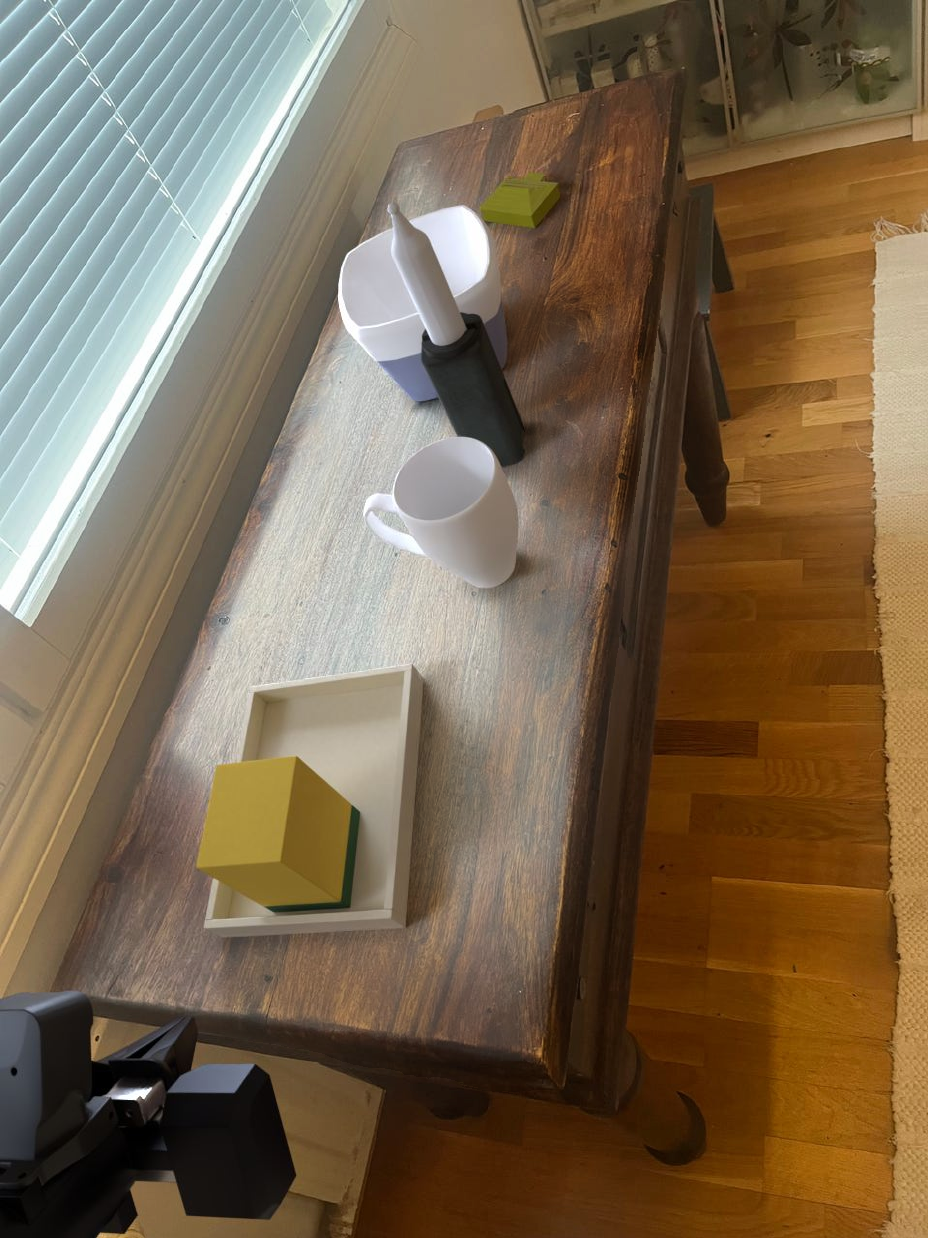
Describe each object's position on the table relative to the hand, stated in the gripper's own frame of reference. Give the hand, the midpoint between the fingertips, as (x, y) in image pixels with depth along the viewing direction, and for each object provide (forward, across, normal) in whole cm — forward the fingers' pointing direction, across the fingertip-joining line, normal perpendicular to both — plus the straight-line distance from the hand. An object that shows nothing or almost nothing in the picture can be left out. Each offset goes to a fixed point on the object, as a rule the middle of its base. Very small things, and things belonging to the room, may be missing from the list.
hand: (190, 1024), depth 50 cm
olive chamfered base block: (+70, -15, -52) cm, 88 cm away
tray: (+21, 0, -4) cm, 21 cm away
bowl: (+54, -8, -36) cm, 66 cm away
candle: (+44, -13, -27) cm, 53 cm away
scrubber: (+18, 0, -1) cm, 18 cm away
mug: (+35, -10, -18) cm, 41 cm away
